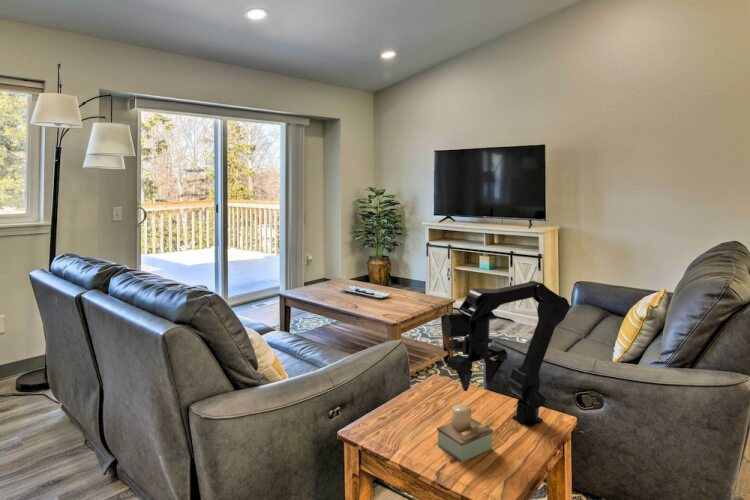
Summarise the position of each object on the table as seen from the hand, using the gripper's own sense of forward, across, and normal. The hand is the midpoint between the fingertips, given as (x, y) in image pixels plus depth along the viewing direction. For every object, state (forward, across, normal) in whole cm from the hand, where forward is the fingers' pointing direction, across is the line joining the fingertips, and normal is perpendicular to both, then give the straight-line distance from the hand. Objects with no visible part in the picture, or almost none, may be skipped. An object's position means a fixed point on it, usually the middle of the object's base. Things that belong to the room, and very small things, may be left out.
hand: (476, 386), depth 130 cm
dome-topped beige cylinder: (+8, +9, +4) cm, 13 cm away
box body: (+13, +10, +5) cm, 17 cm away
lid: (+8, +9, +5) cm, 13 cm away
